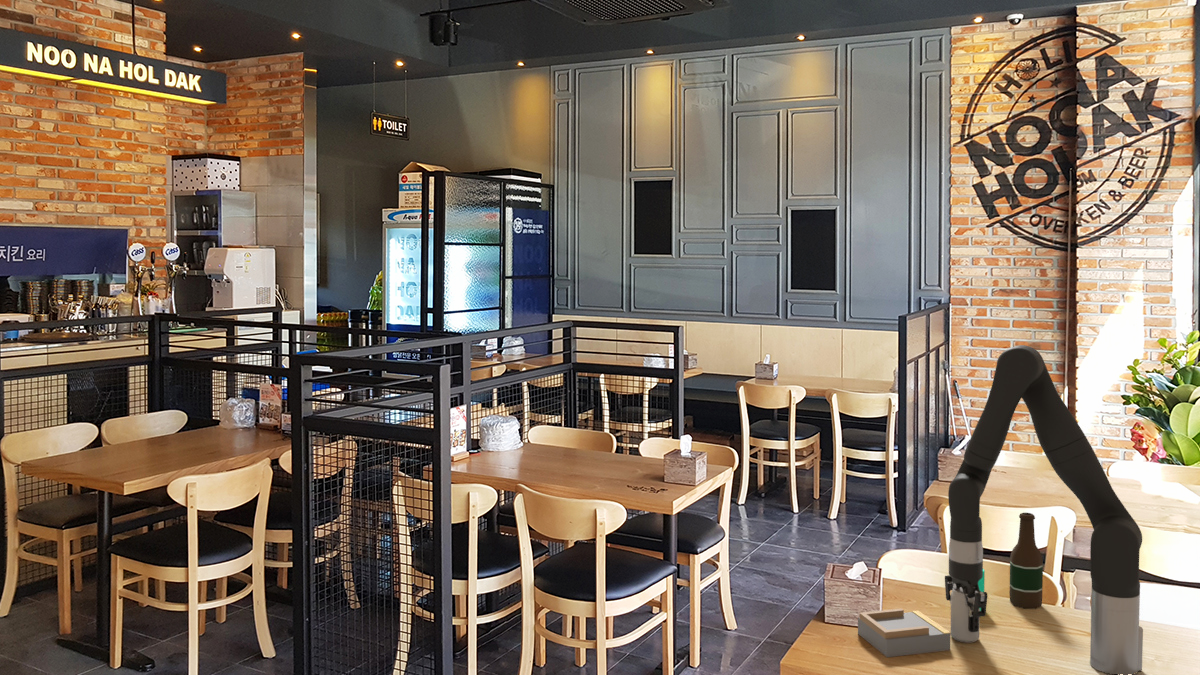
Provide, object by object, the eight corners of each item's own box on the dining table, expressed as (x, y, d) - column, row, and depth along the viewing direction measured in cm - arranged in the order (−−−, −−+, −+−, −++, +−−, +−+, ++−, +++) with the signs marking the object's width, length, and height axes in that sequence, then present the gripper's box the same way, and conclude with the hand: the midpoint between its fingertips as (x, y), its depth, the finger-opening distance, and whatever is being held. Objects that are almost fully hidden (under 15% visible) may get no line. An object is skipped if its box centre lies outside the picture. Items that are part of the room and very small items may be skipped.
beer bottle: (1008, 606, 240) (1009, 515, 239) (1010, 597, 247) (1011, 508, 245) (1041, 611, 237) (1043, 519, 235) (1042, 601, 244) (1044, 511, 242)
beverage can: (981, 644, 217) (982, 594, 216) (952, 643, 218) (953, 593, 217) (976, 634, 223) (976, 585, 222) (948, 632, 225) (948, 584, 224)
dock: (917, 627, 228) (918, 605, 228) (950, 650, 215) (950, 626, 214) (857, 633, 225) (857, 611, 225) (886, 657, 211) (887, 633, 211)
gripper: (998, 565, 213) (997, 636, 214) (962, 547, 227) (961, 613, 228) (969, 568, 212) (968, 639, 213) (934, 549, 226) (934, 616, 227)
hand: (965, 625), depth 221 cm, fingers closed on beverage can, 6 cm apart
